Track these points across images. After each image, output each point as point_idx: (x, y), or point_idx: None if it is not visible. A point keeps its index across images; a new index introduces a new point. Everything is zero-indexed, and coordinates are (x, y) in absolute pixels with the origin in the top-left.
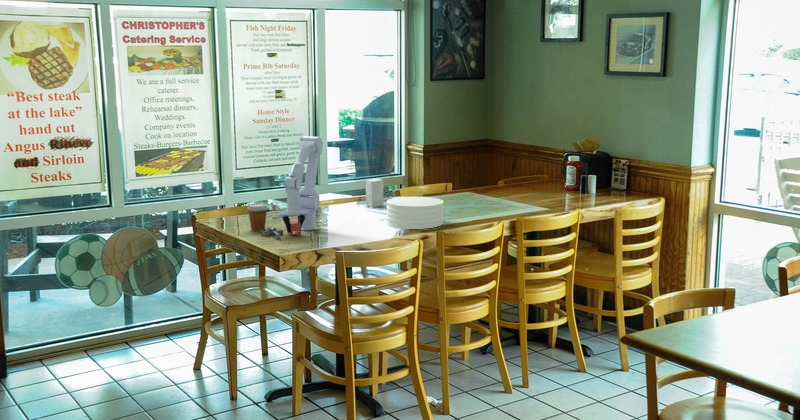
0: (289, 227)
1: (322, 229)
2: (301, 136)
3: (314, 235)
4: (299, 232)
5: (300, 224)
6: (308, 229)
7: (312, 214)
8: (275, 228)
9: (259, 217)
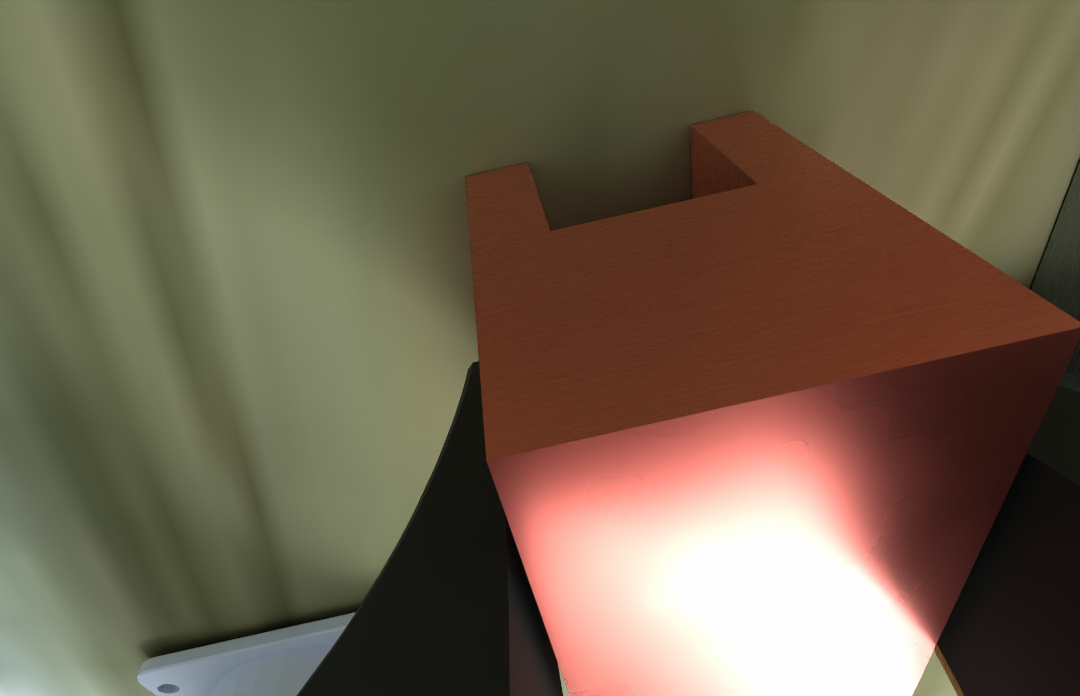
0: None
1: (73, 664)
2: None
3: (41, 201)
4: (517, 208)
5: (496, 400)
6: (322, 627)
7: None
8: None
9: None
